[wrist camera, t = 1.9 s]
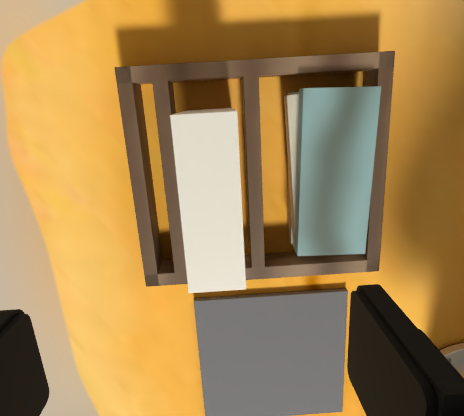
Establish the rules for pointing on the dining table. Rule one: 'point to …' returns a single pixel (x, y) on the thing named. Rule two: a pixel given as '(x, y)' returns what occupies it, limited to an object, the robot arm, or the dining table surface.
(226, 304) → the rubber mat
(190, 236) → the white rectangular block
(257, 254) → the walnut rack
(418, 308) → the dining table surface
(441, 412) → the robot arm
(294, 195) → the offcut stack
